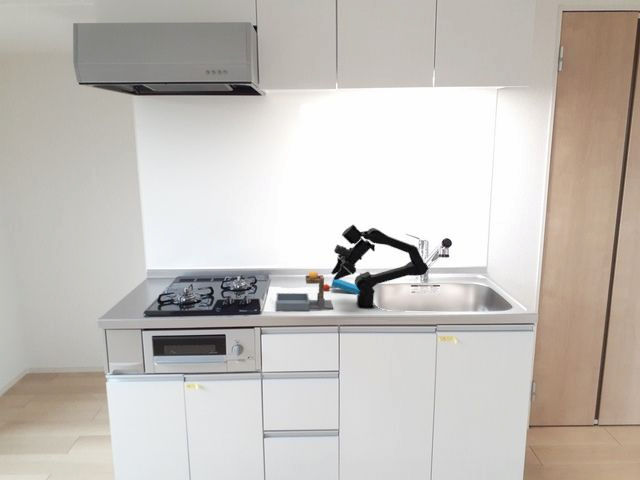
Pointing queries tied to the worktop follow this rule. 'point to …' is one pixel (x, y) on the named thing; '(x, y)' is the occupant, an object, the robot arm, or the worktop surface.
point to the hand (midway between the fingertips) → (333, 276)
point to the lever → (342, 286)
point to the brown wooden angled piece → (317, 281)
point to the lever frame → (320, 304)
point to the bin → (292, 302)
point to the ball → (313, 275)
